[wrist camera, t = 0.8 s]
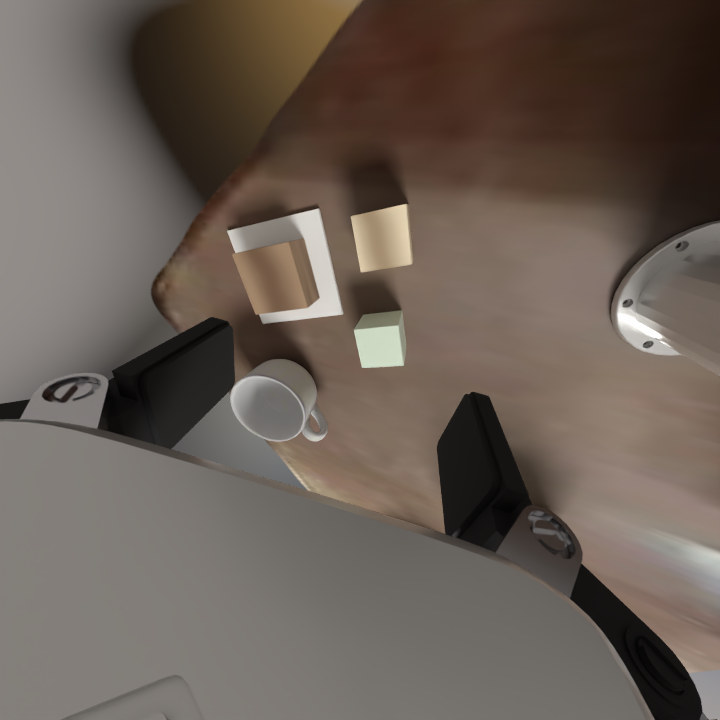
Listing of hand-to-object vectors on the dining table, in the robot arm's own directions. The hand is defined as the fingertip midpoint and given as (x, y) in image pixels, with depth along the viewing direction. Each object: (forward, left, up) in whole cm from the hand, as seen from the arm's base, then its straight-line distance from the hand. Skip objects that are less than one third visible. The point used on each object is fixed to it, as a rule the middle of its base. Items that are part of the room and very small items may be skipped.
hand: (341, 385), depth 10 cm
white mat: (+14, -2, -23) cm, 27 cm away
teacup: (+18, +15, -23) cm, 33 cm away
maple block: (+1, -4, -23) cm, 24 cm away
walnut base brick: (+14, -2, -23) cm, 26 cm away
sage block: (+3, +7, -23) cm, 25 cm away
